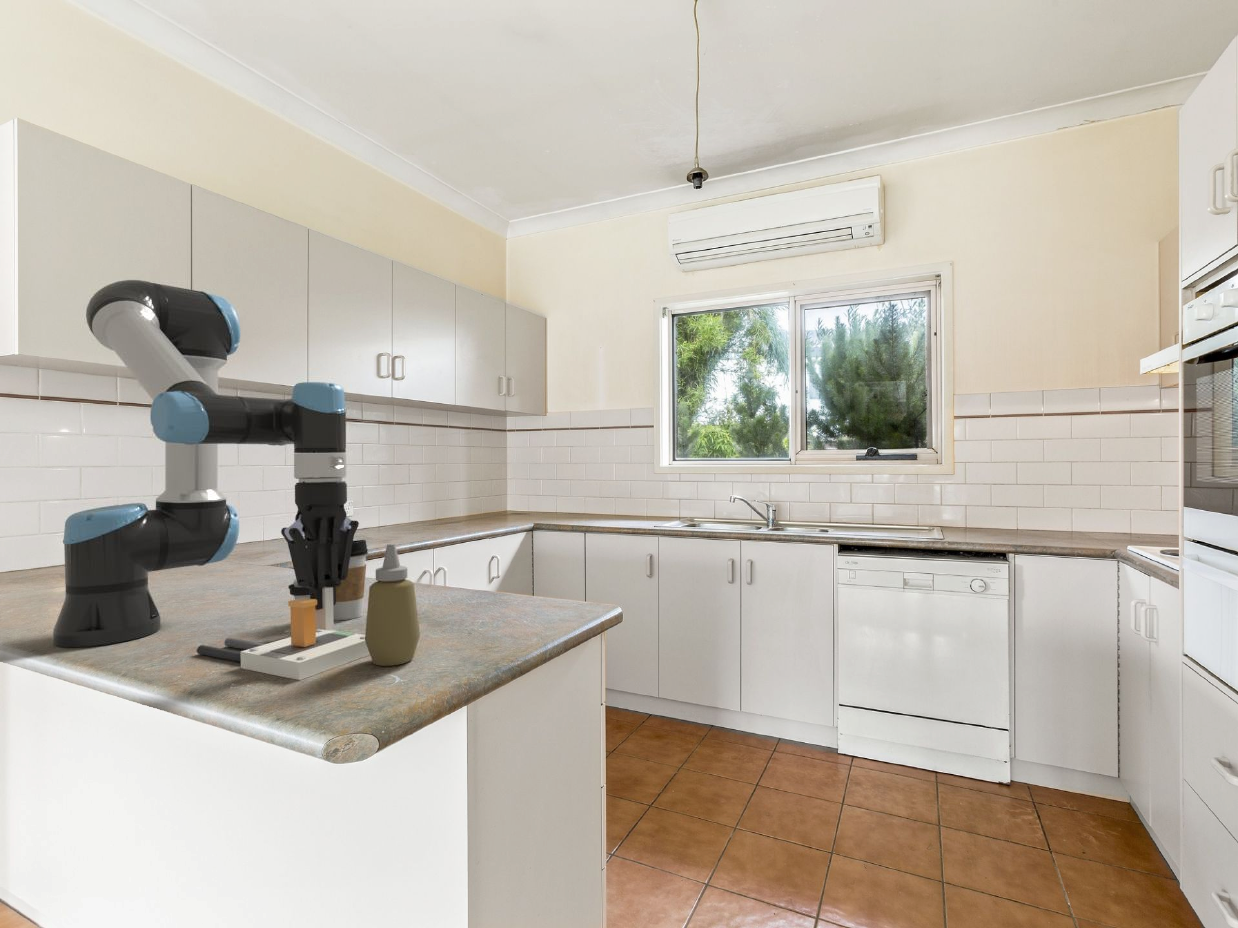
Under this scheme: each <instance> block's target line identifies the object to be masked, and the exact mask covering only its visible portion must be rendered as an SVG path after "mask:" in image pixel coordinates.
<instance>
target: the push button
mask: <svg viewBox="0 0 1238 928" xmlns="http://www.w3.org/2000/svg"><path fill="white" fill-rule="evenodd" d="M288 590H289V595H291V596H294V597H293V598H294V600H295V599H299V598H308V599H310V590H309V588H306V587H302V586H299V585H298V584H297V580H296V578H295V579H293V582H292V584H289V585H288ZM316 630H317V629H316ZM283 632H284V633H291V628H290V629H287V630H285V631H283ZM289 637H291V634H288V635H284V637H283V638H284V639H286V638H289Z"/></svg>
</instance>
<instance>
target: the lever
mask: <svg viewBox="0 0 1238 928" xmlns="http://www.w3.org/2000/svg"><path fill="white" fill-rule="evenodd" d="M287 604H288V605H287V606H288V607H290V608H289V609H290V629H291V631H290V635H291V645H295V646H300V647H307V646H310V645H313V644H316V621H315V605H317V600H316V599H308V598H299V599H295V598H294V599H291V600H288V601H287Z"/></svg>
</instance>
